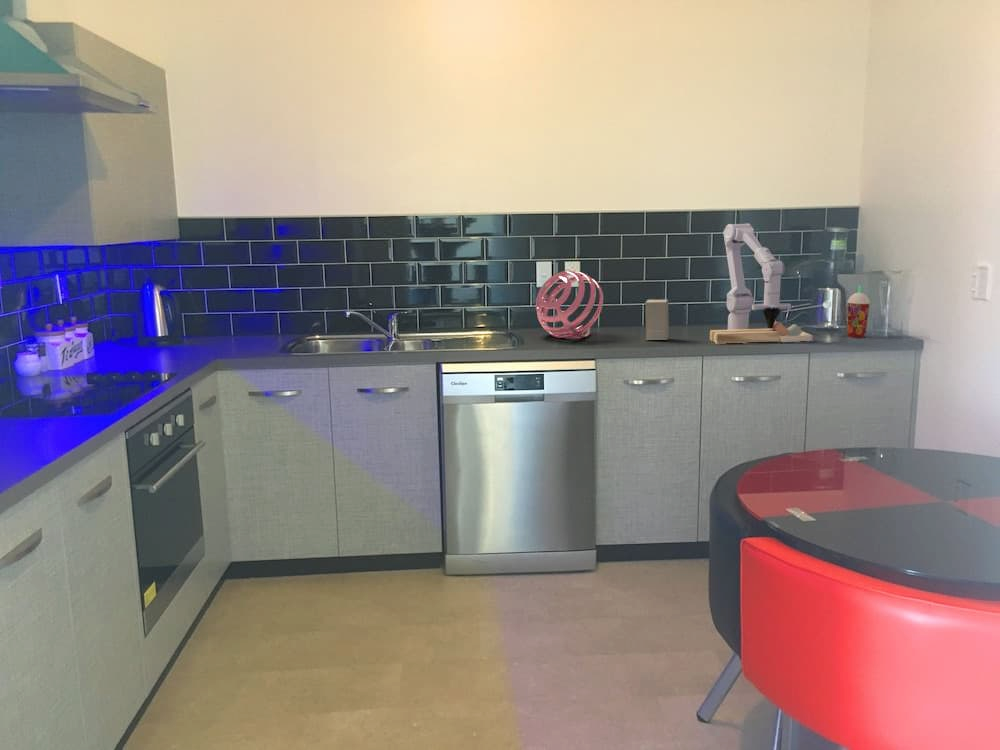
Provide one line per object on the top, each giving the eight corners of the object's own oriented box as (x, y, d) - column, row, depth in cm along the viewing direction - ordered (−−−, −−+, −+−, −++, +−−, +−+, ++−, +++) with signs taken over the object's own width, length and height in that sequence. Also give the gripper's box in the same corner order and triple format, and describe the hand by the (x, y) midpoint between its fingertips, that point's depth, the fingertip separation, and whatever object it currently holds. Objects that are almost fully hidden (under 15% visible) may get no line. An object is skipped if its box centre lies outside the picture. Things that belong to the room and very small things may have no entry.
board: (709, 340, 327) (710, 330, 326) (770, 338, 328) (770, 328, 328) (717, 344, 318) (717, 333, 318) (778, 342, 320) (779, 332, 319)
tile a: (770, 327, 325) (775, 321, 325) (779, 335, 326) (784, 329, 326) (775, 329, 320) (780, 323, 320) (784, 337, 321) (789, 331, 321)
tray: (769, 338, 329) (770, 331, 329) (800, 337, 330) (801, 330, 330) (780, 342, 319) (781, 336, 318) (812, 342, 319) (813, 335, 319)
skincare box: (668, 338, 332) (669, 299, 329) (666, 342, 325) (667, 301, 322) (647, 338, 335) (648, 298, 331) (644, 341, 328) (645, 300, 325)
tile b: (793, 324, 325) (797, 330, 326) (782, 331, 326) (787, 337, 326) (798, 325, 320) (802, 332, 321) (787, 333, 321) (791, 340, 322)
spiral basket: (585, 283, 358) (550, 250, 339) (630, 304, 338) (595, 270, 319) (548, 336, 358) (511, 307, 339) (590, 361, 338) (553, 331, 319)
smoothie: (868, 335, 331) (871, 284, 327) (867, 338, 324) (871, 287, 320) (845, 334, 335) (848, 284, 331) (844, 337, 327) (847, 286, 323)
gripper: (757, 294, 316) (755, 330, 319) (794, 293, 317) (792, 329, 319) (750, 292, 323) (749, 327, 326) (787, 291, 323) (785, 326, 326)
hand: (770, 328), depth 323 cm, fingers closed
